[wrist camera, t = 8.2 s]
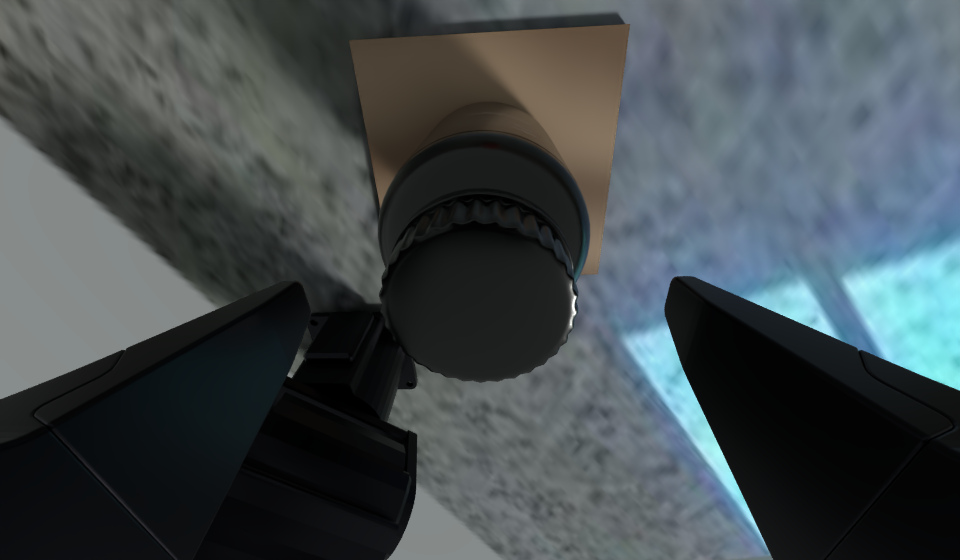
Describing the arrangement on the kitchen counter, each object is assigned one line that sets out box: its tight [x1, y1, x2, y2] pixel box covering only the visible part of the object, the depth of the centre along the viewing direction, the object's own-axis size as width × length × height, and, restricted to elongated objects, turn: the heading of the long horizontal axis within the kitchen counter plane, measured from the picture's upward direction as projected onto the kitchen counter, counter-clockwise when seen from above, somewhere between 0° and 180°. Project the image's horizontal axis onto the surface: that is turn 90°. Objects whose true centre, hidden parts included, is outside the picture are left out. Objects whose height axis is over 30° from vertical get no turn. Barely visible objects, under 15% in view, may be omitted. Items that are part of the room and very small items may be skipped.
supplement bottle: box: [378, 102, 590, 383], centre depth 14 cm, size 7×7×12 cm
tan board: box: [349, 24, 630, 275], centre depth 19 cm, size 12×12×1 cm
